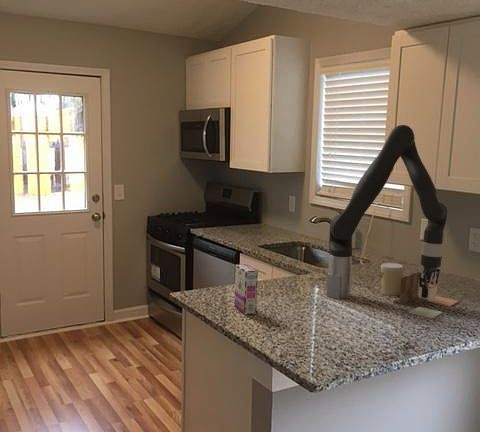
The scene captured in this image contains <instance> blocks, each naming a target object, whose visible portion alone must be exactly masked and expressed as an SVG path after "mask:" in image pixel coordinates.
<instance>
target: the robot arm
mask: <svg viewBox="0 0 480 432" xmlns="http://www.w3.org/2000/svg"><path fill="white" fill-rule="evenodd" d="M415 139H416V138H415V133H414V130H413V129H412V128H411V127H410V126H408V125H406V124H400V125H396V126H395V127H393V129H392V130H391V131H390V133H389V135H388V137H387V139H386V140H385V143H384V145H383V147H382V148H381V150H380V152H379V153H378V154H377V156H376V157H375V158H374V160H372V162H371V163H370V164H369V166H368V168H367V169H366V170H365V172H363V175H362V176H361V178H360V179H359V181H358V183H357V184H356V187H355V188H354V190H353V193H352V196H351V198H350V200H349V202H348V204H347V205H346V207H345V208H344V210H343V211H342V213H341V214H340V215H336V216H334V217H333V218H332V219H331V221H330V223H329V224H330V225H329V239H328V240H329V242H328V244H329V245H328V246H329V251H328V252H329V254H328V273H327V275H326V292H325V293H326V294H325V295H326V297H329V298H332V299H336V300H341V299H348V298H350V296H351V283H352V282H351V281H352V263H353V242H352V241H353V235H354V233H355V231H356V230H357V227H358V225H359V223H360V222H361V220H362V218H363V216H364V215H365V213H366V212H367V210H368V209H369V208H370V207H371V206H372V204H373V203H374V201H375V200H376V198H378V196H379V194H380V193H381V191H382V190H383V189H384V188H385V186H386V184H387V182H388V180H389V178H390V177H391V173H392V172H393V169H394V167H395V165H396V163H397V162H398V160H399V158H401V160H402V162H403V164H404V166H405V168H406V170H407V173H408V176H409V178H410V179H409V180H410V181H411V183H412V186H413V188H414V191H415V193H416V194H417V198H418V199H419V204H420V208H421V211H422V214H423V215H424V217H425V218H426V219H427V224H426V225H427V226H426V227H425V229H424V231H423V240H422V246H421V253H420V263H419V264H420V265H421V266H423V271H422V272H419V284H418V288H419V287H421V288H422V294H421V297H423V298H422V299H424V298H427V297H428V288H429V284H433V285H437V284H439V283H438V282H439V277H440V272H441V269H440V268H441V266H442V257H443V243H444V242H443V240H444V230H445V226H446V223H447V218H448V208H447V206H446V205H445V204H444V203H442V202H440V201H439V199H438V197H437V189H436V186H435V185H434V182H433V179H432V176H430V174H429V172H428V171H427V169H426V167H425V165H424V163H423V161H422V159H421V158H420V155H419V152H418V149H417V146H416V142H415V141H416V140H415Z"/></svg>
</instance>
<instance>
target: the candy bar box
mask: <svg viewBox="0 0 480 432" xmlns="http://www.w3.org/2000/svg"><path fill="white" fill-rule="evenodd" d="M258 273H259V271H258V270H257V269H255V267H252V266H250V265H249V264H235V273H234V274H235V276H234V277H235V279H234V280H235V281H234V306H233V307H235V308H236V310H238V311H239V312H240V313H242V314H243V315H244V316H250V315H251V316H252V315H256V314H257V304H258V303H257V302H258V301H257V300H258V275H259V274H258Z"/></svg>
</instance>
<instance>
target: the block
mask: <svg viewBox="0 0 480 432" xmlns="http://www.w3.org/2000/svg"><path fill="white" fill-rule="evenodd" d="M437 293H438V285H437V284H436V285H433V284H429V288H428V297H427V298H423V297H421V294H422V288H421V287H419V286H418V297H417V298H421V299H425V300H427V301H428V300H432V299H435V298H436V296H438V295H437Z"/></svg>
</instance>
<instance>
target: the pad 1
mask: <svg viewBox="0 0 480 432" xmlns="http://www.w3.org/2000/svg"><path fill="white" fill-rule="evenodd" d="M408 313H409V314H412V315H416V316H420V317H424V318H427V319H435V318H437V317H438V316H440V315H442V314H443V311H440V310H436V309H431V308H427V307H424V306H418V307H415V308H414V309H411V310H410V311H409V312H408Z"/></svg>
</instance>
